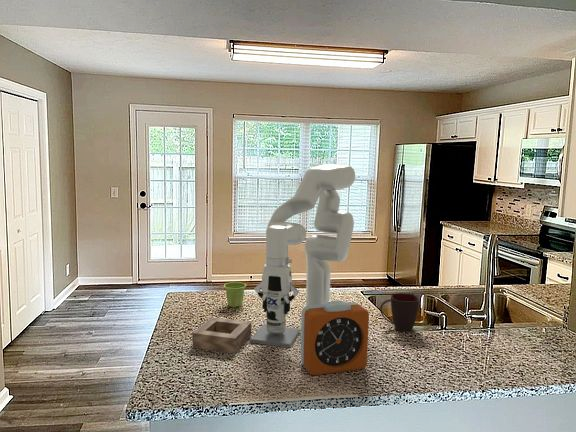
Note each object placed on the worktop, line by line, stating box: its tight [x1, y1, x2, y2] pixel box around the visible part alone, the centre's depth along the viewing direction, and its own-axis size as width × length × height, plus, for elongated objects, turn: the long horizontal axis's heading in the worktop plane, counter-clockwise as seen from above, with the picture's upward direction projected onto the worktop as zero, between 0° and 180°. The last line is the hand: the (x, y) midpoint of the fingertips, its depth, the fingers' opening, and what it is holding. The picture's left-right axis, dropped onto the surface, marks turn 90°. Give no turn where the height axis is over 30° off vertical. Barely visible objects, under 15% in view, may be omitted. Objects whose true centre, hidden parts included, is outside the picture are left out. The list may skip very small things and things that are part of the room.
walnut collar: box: [191, 317, 252, 354], centre depth 153 cm, size 15×15×5 cm
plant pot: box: [223, 281, 247, 308], centre depth 190 cm, size 9×9×9 cm
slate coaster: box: [249, 323, 301, 348], centre depth 158 cm, size 14×14×1 cm
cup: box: [379, 292, 420, 333], centre depth 166 cm, size 10×14×12 cm
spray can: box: [266, 276, 287, 334], centre depth 156 cm, size 7×7×20 cm
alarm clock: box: [300, 300, 370, 376], centre depth 135 cm, size 18×9×21 cm, turn 106°
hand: (276, 311), depth 157 cm, fingers closed on spray can, 6 cm apart
